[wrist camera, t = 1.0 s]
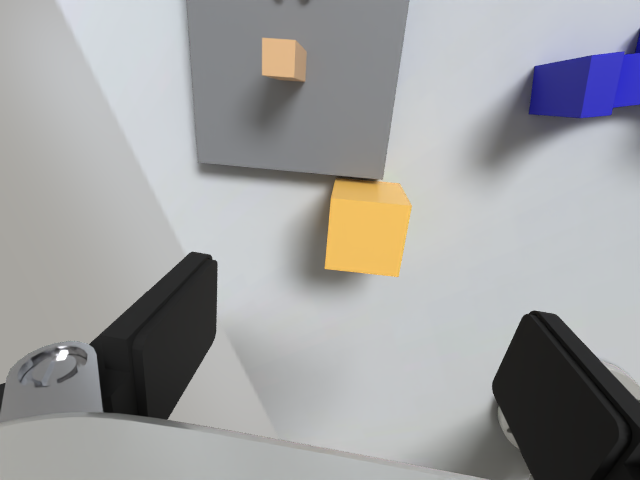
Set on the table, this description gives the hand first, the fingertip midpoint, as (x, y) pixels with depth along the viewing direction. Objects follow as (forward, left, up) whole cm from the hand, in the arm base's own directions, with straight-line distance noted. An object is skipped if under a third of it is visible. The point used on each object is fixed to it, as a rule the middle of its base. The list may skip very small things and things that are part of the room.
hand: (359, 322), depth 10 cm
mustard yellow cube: (-2, -1, -18) cm, 18 cm away
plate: (+8, +5, -18) cm, 20 cm away
